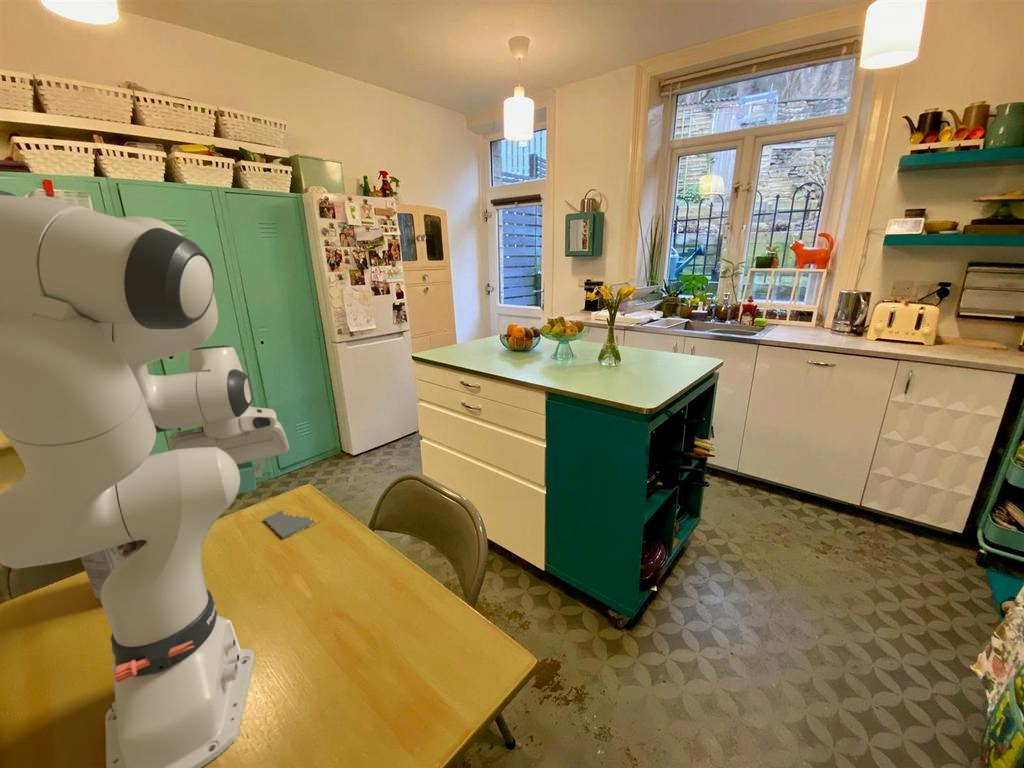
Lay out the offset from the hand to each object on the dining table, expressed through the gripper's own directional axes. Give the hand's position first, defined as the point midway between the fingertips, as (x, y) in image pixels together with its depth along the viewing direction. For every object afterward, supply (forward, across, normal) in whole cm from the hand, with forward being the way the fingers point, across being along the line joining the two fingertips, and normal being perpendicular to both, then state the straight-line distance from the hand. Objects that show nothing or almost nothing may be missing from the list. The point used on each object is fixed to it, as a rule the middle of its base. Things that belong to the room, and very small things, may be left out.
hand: (241, 481), depth 91 cm
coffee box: (+19, -23, +4) cm, 30 cm away
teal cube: (+2, 0, 0) cm, 2 cm away
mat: (+19, +8, +10) cm, 23 cm away
